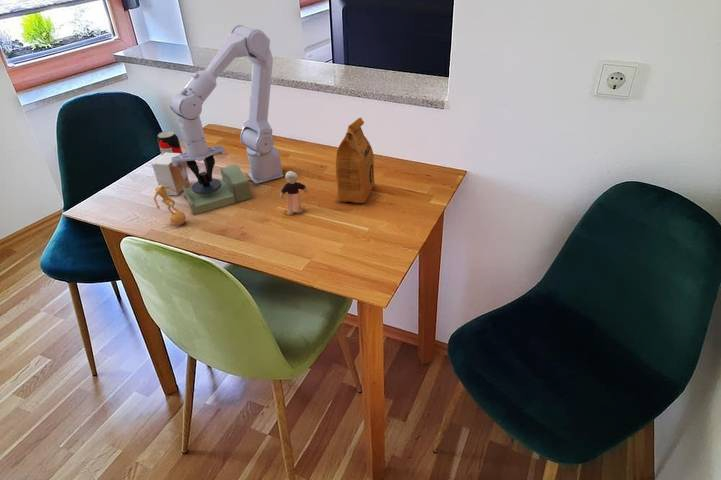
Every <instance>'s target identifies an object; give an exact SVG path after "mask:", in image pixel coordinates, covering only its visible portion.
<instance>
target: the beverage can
mask: <svg viewBox="0 0 721 480" xmlns="http://www.w3.org/2000/svg"><path fill="white" fill-rule="evenodd" d="M157 145H158V148H159V151H160V154H161V156H162V155H163V154H164V153H166V152H167V153H181V154H183V150H182V147H181V145H180V140H179V137H178V135H176V134H175V131H173V130H164V131H161V132H159V133H157ZM184 164H185V165H186V163H184Z"/></svg>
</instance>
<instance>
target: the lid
mask: <svg viewBox="0 0 721 480" xmlns="http://www.w3.org/2000/svg"><path fill="white" fill-rule="evenodd" d="M199 174H200V177H201V180H202V184H201V185H200V184H199V182H198V180H197V181H195V182H194V183H193V184H192V185H191V187H192V191H193V192H194V193H197V194H208V193H212V192H215V191H217V190H218V189H219V188H220V187H221V182H220V179H218V178H213V177H212V182H210V181H209V178H208V174H207V172H206V171H201V172H199Z"/></svg>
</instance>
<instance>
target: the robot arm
mask: <svg viewBox="0 0 721 480" xmlns="http://www.w3.org/2000/svg"><path fill="white" fill-rule="evenodd" d="M270 39H271V38H269V37H268V35H267V34H266V33H265V32H264V31H263V30H262V29H258V28H257V29H256V28H251V27H248V26H245V25H243V24H238V25H235V26H233V27H232V29H231V30H230V32H229V33H228V34H226V36H225V40H224V42H223V44H222V45H221V46H220V48H219V50H218V51H217V53H216V54H215V55H214V57H213V58H212V59H211V61H210V63H209V64H208V65H207V67H206V68H205V69H203V70H197V72H193V73H192V74H191V79H190V80H189V81H188V83H187V84H186V85H185V87H182V89H181V90H180V92H178V93H176V94H175V95H173V97H172V98H171V102H170V105H169V107H170V110H171V111H172V112H173V113H174V114H175V115H176V118H177V122H178V126H179V130H180V134H181V137H182V140H183V141H182V142H183V144H184V149H185V151H186V152H182V154H181V155H178V156H176V157H172V158H171V161H172V164H173V166H174V167H175V166H178V165H179V164H183V163H185V165H186V166H187V167H188V169H189V170H190V171H191V172H192V173H193V174H194V176H195V178H196V179H197V181H198V182H199V184H200V185H201V184H202V180H201V177H200V170H199V165H198V163H197V161H198V162H200V161H203V164H204V167H205V172H207V174H208V178H209V181H210V182H212V178H213V171H214V166H215V163H216V159H215V158H214V157H216V156H220V155H226V150H225V146H224V145H217V146H210V147H208V145H207V144H208V143H207V140H206V136H205V132H204V128H203V124H202V120H201V116H200V115H201V114H202V111H203V105H204V102H205V101H206V100H207V99H208V98H209V97H210V95H211V94H212V93H213V92H214V90H215V88H216V87H217V79H218V78H219V76H221V74H222V73H223V72H224V71H226V69H227V68H228V67H229V66H230V65H231V64H232V62H233V61H234V60H235V59H237V58H243V57H244V58H245V57H247V58H248V60H249V61H250V62H251V64H252V69H251V83H250V97H249V110H248V111H249V112H248V118H247V119H246V120H245V121H244V122H243V127H242V130H241V132H240V134H239V135H240V136H239V139H240V142H241V144H242V145H244V146H245V149H246V154H247V159H248V164H249V169H250V171H249V172H247V176H248V177H249V178H250V179H251V181H252V182H253V183H254V184H255V185H259V184H261V183H265V182H269V181H273V180H276V179H279V178H283V177H284V174H283V167H282V160H281V156H280V152H279V150H278V148H277V147H276V146H274V145H275V141H274V137H273V128H272V127H271V125H270V123H269V122H268V119H269V109H270V108H269V106H270V97H271V96H270V95H271V86H272V85H271V84H272V76H273V62H274V58H273V55H272V51H271V48H270V44H271V40H270Z"/></svg>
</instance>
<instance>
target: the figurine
mask: <svg viewBox="0 0 721 480" xmlns="http://www.w3.org/2000/svg"><path fill="white" fill-rule="evenodd" d="M167 188H169V189H171V190H172V191H174V192H176V191H175V190H174V189H172V188H170V187H169V186H163V185H161V186H159V185H158V186H156V187H155V194H154V196H153V201H154V203H155V205H156V208H157V210H160V208H161V206H160V205H159V203H158V200H157V197H158V196H160V197H161V198H162V200H161V202H162V203H163V204H164V205H166V206H167V207H166V208H167V210H168V211H169V213H170V215H169V221H170V222H171V224H173V225H175V226H181V225H183V224H184V223H185V222H186V214H185V213H184V212H183V211H181V210H179V209H176V207H175V204H176V201H175V200H174V199H173V198H172V197H171V195H167V191H166V189H167ZM176 193H177V192H176ZM177 194H178V193H177ZM171 208H172V209H173V210H172V209H171Z"/></svg>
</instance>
